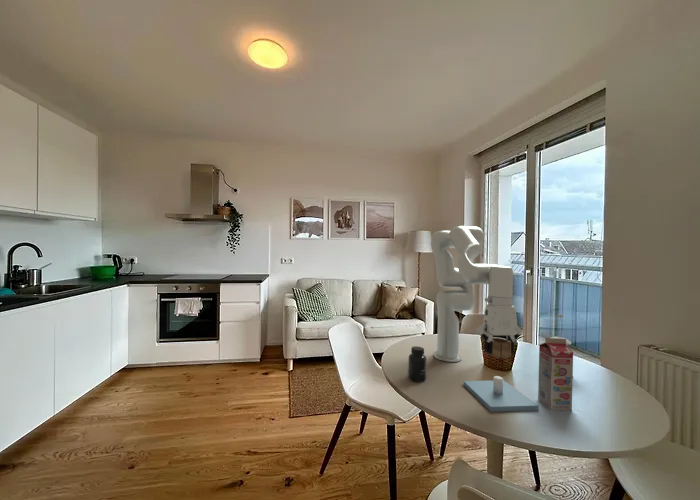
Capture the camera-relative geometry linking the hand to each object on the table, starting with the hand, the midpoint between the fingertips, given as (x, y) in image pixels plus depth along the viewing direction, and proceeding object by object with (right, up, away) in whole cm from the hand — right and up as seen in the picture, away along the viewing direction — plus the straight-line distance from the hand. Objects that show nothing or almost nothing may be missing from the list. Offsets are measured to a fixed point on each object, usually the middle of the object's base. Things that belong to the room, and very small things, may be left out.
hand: (498, 352), depth 102 cm
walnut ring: (0, -1, 0) cm, 1 cm away
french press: (+35, -16, +21) cm, 44 cm away
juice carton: (+16, -16, -4) cm, 23 cm away
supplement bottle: (-26, -15, +13) cm, 32 cm away
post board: (0, -15, 0) cm, 15 cm away
